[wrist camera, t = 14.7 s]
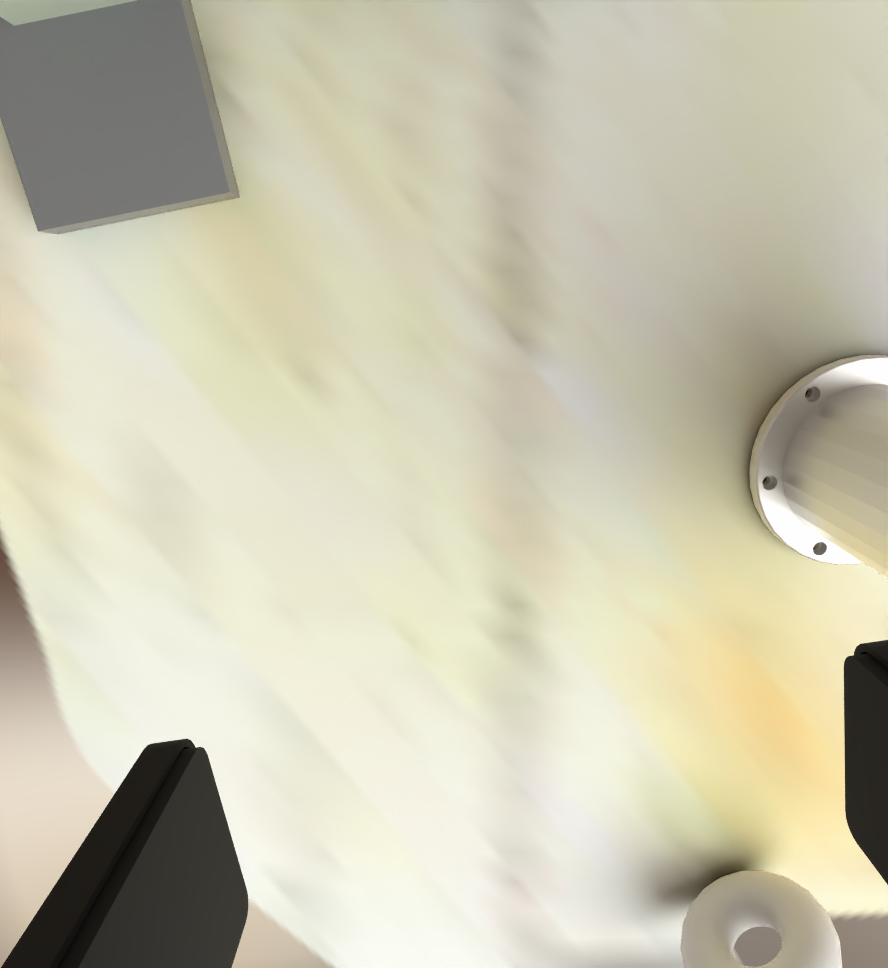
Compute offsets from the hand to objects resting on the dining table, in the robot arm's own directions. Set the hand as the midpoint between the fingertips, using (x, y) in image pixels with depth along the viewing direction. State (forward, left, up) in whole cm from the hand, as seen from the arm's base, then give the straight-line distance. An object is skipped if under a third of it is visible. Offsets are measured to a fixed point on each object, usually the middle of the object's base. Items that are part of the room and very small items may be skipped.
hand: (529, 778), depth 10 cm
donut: (-13, +38, -32) cm, 51 cm away
